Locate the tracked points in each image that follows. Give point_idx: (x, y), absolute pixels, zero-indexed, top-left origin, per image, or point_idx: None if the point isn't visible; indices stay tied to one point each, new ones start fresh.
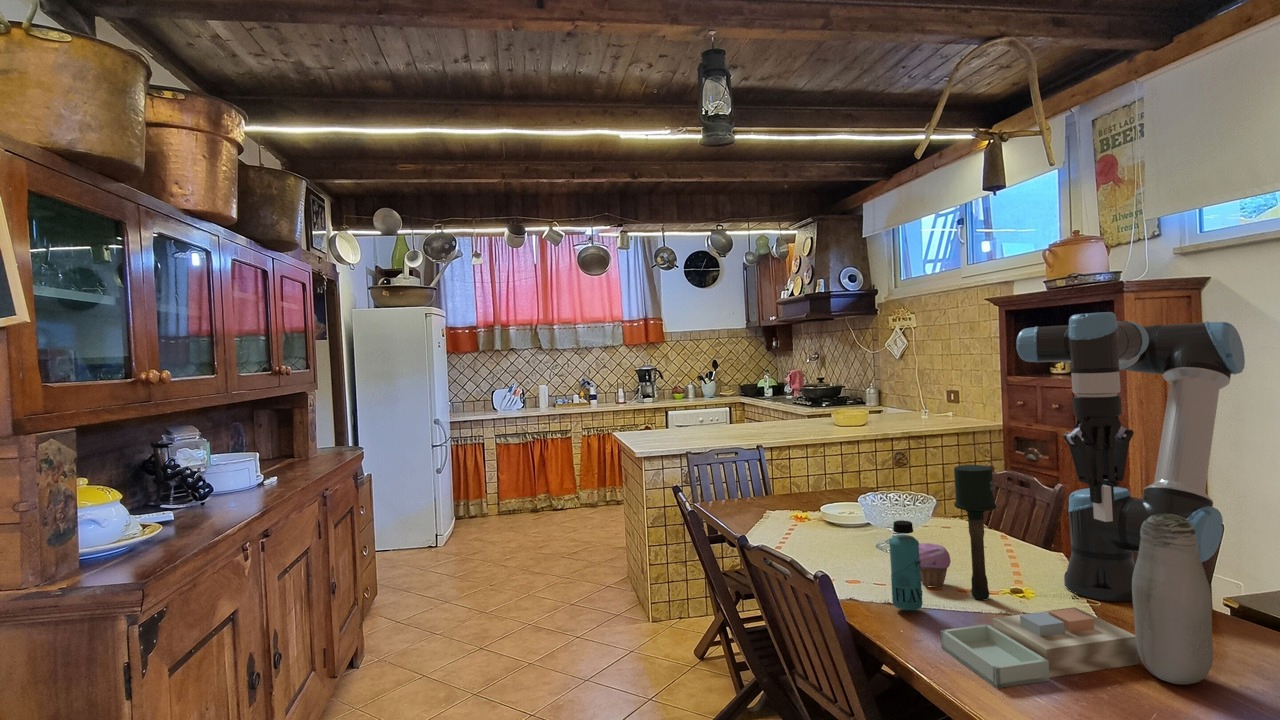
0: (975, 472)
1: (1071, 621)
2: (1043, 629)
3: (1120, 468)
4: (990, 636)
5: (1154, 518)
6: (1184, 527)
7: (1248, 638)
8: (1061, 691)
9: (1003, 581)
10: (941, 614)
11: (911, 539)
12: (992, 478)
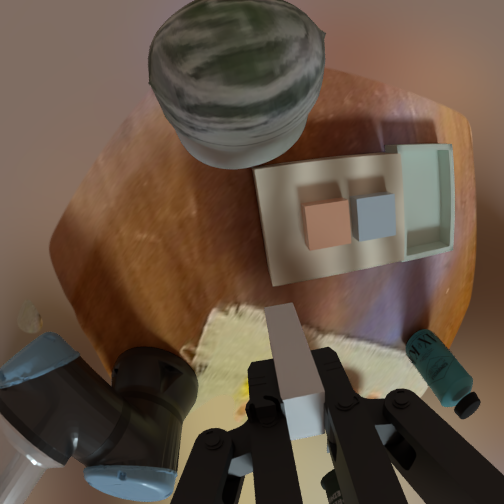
0: None
1: (344, 200)
2: (386, 193)
3: (211, 487)
4: None
5: (301, 43)
6: None
7: (73, 230)
8: (385, 120)
9: None
10: (390, 331)
11: (461, 389)
12: None
